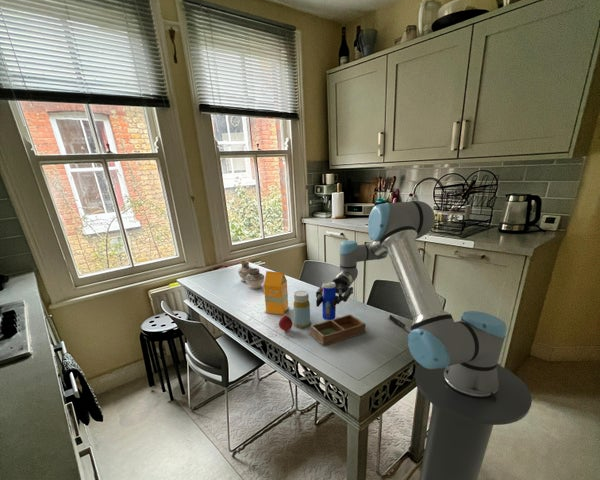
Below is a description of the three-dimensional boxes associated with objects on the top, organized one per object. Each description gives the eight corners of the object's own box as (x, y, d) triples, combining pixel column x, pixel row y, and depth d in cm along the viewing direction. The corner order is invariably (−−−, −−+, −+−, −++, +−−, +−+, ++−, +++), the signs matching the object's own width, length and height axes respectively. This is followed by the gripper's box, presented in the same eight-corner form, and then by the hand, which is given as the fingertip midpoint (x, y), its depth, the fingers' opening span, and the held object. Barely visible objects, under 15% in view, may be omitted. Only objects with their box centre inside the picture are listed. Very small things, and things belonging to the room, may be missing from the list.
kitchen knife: (388, 318, 143) (389, 315, 142) (390, 318, 143) (391, 314, 143) (415, 337, 128) (416, 333, 127) (417, 337, 128) (418, 333, 127)
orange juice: (282, 314, 151) (280, 275, 142) (265, 312, 153) (262, 273, 145) (288, 307, 157) (286, 269, 149) (272, 305, 160) (269, 268, 152)
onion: (295, 329, 137) (294, 313, 134) (288, 335, 133) (287, 318, 129) (284, 326, 140) (283, 310, 137) (276, 332, 136) (275, 315, 132)
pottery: (252, 276, 202) (250, 258, 197) (268, 288, 183) (266, 268, 178) (235, 279, 197) (232, 261, 192) (250, 292, 178) (248, 272, 173)
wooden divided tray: (365, 332, 133) (365, 324, 131) (323, 345, 125) (323, 336, 123) (350, 322, 141) (350, 314, 140) (310, 334, 133) (310, 325, 132)
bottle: (292, 327, 139) (291, 295, 133) (296, 319, 145) (295, 289, 139) (308, 328, 138) (307, 297, 131) (311, 321, 144) (310, 290, 138)
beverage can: (319, 318, 126) (319, 283, 120) (328, 314, 129) (328, 279, 123) (329, 322, 123) (329, 286, 116) (338, 318, 126) (338, 283, 120)
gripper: (362, 293, 136) (348, 317, 116) (322, 288, 142) (302, 310, 123) (363, 277, 132) (348, 298, 113) (322, 272, 139) (301, 292, 120)
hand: (324, 304), depth 118 cm, fingers closed on beverage can, 5 cm apart
